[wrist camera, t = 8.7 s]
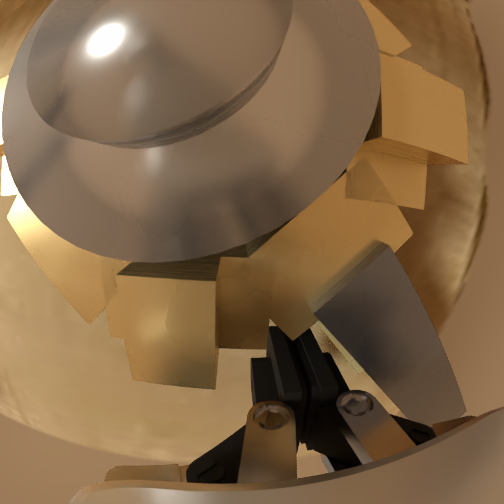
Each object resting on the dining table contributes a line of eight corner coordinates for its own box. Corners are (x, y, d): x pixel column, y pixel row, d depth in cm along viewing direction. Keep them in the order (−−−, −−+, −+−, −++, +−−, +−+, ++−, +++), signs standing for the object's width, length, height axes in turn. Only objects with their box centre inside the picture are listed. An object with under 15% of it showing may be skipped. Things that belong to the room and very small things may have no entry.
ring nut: (31, 146, 8) (-59, 141, 3) (229, -27, 7) (228, -109, 2) (331, 437, 13) (355, 508, 8) (479, 310, 12) (538, 351, 6)
